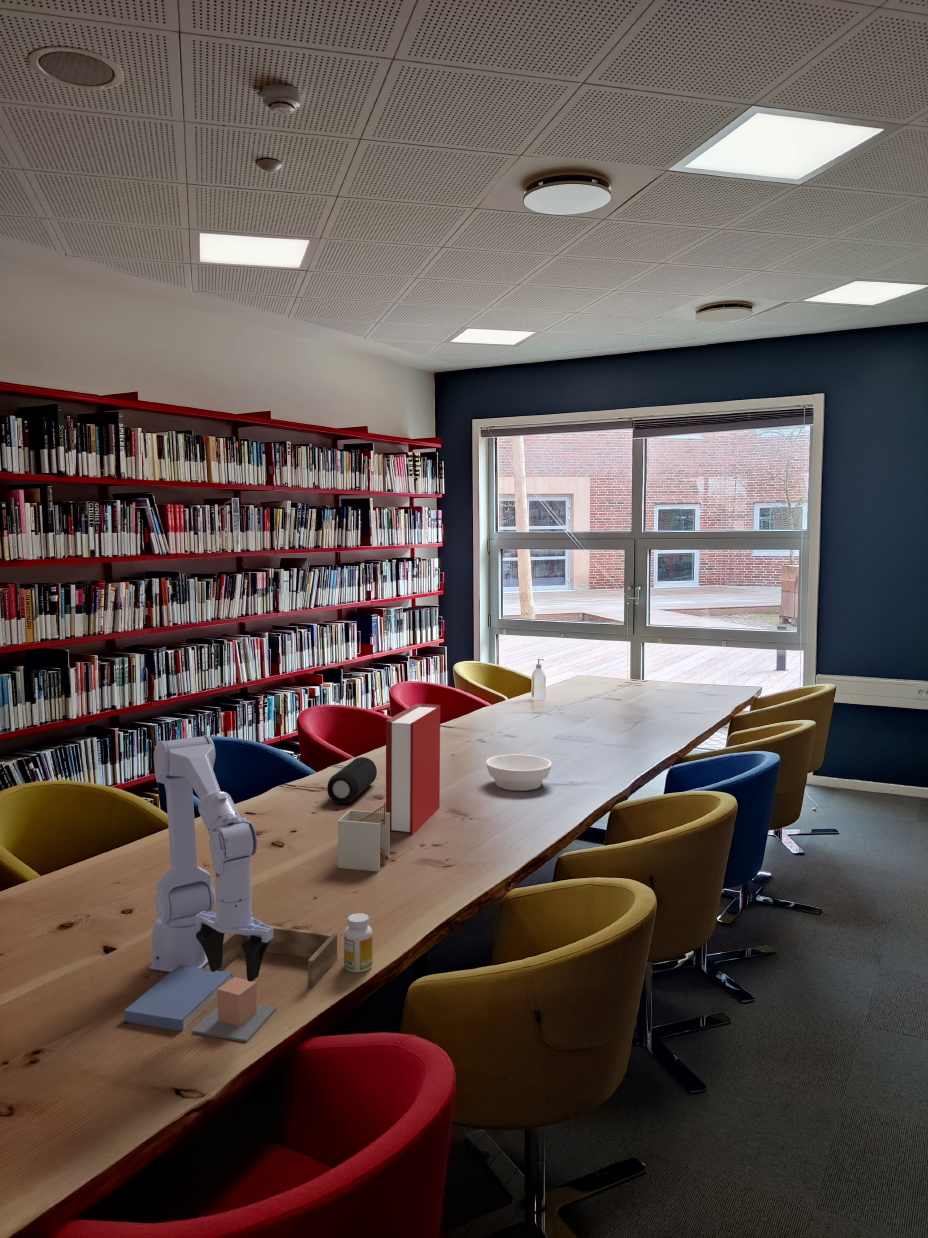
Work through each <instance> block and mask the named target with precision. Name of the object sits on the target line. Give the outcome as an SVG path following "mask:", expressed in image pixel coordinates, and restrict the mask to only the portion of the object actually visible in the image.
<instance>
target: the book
mask: <svg viewBox="0 0 928 1238" xmlns="http://www.w3.org/2000/svg"><path fill="white" fill-rule="evenodd" d="M385 723H386V724H385V813H390V832H391V831H397V832H405V833H410V834H411V835H412V836H414V835H415V833H416V832H418V830H419V829H421V827H422V826H423V825H424V824H425V823H426V822H427V821H428V820H429V819H430V818H431V817H432V816H433V815H434V814H435V813H436V812H438V810H439V809H440V800H441V799H440V794H441V793H440V788H441V787H440V786H441V785H440V783H441V781H440V780H441V778H440V777H441V705H440V704H432V703H416V704H413V705H412V706H410V707H408V708H406V709H404V710H402V711H401V712H399V713H397V714H395V715H394V716H391V717H390V718H388V719H386V720H385Z"/></svg>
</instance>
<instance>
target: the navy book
mask: <svg viewBox="0 0 928 1238" xmlns="http://www.w3.org/2000/svg"><path fill="white" fill-rule="evenodd" d="M232 978H233V972H228V971H224V970H223V971H215V972H212V971H211V970H210V968H208V969H207V968H196V967H189V966H182V965H179V966H178V967H176V968H175V969H174V970H173V971H172V972H168V974H167V975H165V976H164V977H163V978H162V979H161V980H160V981H158V982H157V983H156V984H155V985H154V986H153V985H152V987H150V989H148V990H147V991H146V992H144V993H143V994H141V996H140V997H139V998H137V999H136V1000H135V1001H133V1002H132V1003H131V1004H130V1005H129V1006H128V1007H126V1008H125V1009H124V1010H123V1018H124V1019H123V1020H124V1022H127V1023H131V1024H138V1025H142V1026H143V1025H144V1026H149V1027H155V1028H160V1029H166V1030H170V1031H171V1030H172V1031H176V1032H177V1031H178V1032H183V1031H184V1030H185V1029H187V1027H189V1025H190V1024H191V1023H192V1022H194V1020H196V1019H197V1018H198V1017H199V1016H200V1015H201V1014H202V1013H204V1011H205V1010H206V1009H208V1008H209V1007H210V1005H212V1003H214V1002H215V1001H216V1000H218V994H217V989H218V988H220V987H221V986H223V985H224V984H225V983H227V982H228V981H230V980H231V979H232Z"/></svg>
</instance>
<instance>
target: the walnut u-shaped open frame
mask: <svg viewBox="0 0 928 1238" xmlns="http://www.w3.org/2000/svg"><path fill="white" fill-rule="evenodd" d="M268 925H269V926H272V927H273V938H272V940H271V942H270V944H269V945H268V947H267V949H266V952H267V953H272V954H279V955H280V954H281V955H286V956H293V957H299V958H307V959H308V960H307V987H308V988H314V987H315V986H316V985H317V984H318V983H319V981H320V980H321V979H322V978H323V977H324V976H325V975H326V973H327V972H328V971H329V970H330V968H331V967H332V966H333V965H334V964H335V963H336V962H337V960H338V934H336V933H330V932H322V931H314V930H308V929H298V928H292V927H286V926H285V927H284V926H278V925H270V924H268ZM248 940H250V937H249V936H245V935H241V934H227V935H226V937H224V940H223V960H222V967H220V968H219V969H217V970H216V971H223V972H224V970H225V969H226V968H228V966H230V964H231V963H233V962H234V961H235V960H236V959H237V958H238V957H239V956H241V955H242V954H244V951H243V949H242V944H243V943H245V942H246V941H248ZM266 952H265V953H266Z"/></svg>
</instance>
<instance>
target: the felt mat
mask: <svg viewBox="0 0 928 1238" xmlns="http://www.w3.org/2000/svg"><path fill="white" fill-rule="evenodd" d="M256 1007H257V1013H256V1014H255V1015H254V1016H253V1017H251V1018H250V1019H249V1020H248V1021H246V1022H245V1023H244V1024H243V1025H241V1026H240V1027H238V1026H235V1025H231V1024H228V1023H224V1022H221V1021H218V1005H216V1007H215V1008H214V1009H212V1011H210V1013H209V1014H208V1015H206V1016H205V1018H203V1019H202V1020H201V1021H200V1022H199V1023H198V1024H197V1025H196V1026H195V1027H194V1028H193V1029H192V1030H191V1031H192V1034H198V1035H203V1036H207V1037H208V1036H209V1037H212V1038H213V1037H216V1038H221V1039H226V1040H229V1041H231V1040H232V1041H237V1042H243V1043H248V1042H249V1041H250V1040H251V1039H252V1038H253V1037H254V1035H255V1034H256V1033H257V1032H258V1031H259V1030H260V1029H261V1028H262V1026H263V1025H264V1024H265V1023H266V1022H267V1021H268V1020H269V1018H270V1017H271V1016H272V1015H273V1014H274V1013H275V1012H276V1011H277V1007H275V1006H269V1005H263V1004H258V1003H256Z"/></svg>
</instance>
